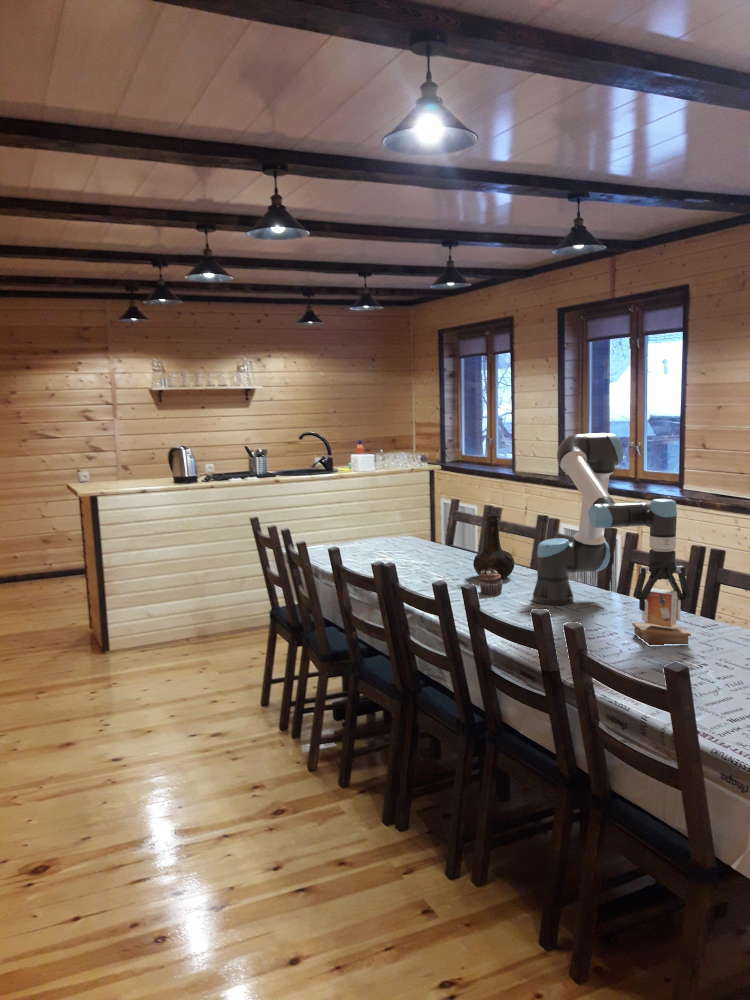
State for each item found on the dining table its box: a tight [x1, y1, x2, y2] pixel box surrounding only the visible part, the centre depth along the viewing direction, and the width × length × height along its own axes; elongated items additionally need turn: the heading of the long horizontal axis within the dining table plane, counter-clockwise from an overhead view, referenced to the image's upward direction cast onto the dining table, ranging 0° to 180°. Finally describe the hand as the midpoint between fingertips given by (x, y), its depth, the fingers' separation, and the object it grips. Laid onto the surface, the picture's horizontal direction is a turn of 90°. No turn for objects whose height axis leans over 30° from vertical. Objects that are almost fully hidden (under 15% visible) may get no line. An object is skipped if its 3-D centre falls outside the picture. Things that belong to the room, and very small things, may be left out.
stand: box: [631, 621, 692, 645], centre depth 230 cm, size 13×13×4 cm
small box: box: [644, 587, 678, 628], centre depth 229 cm, size 8×6×10 cm
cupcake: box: [478, 568, 504, 596], centre depth 295 cm, size 10×10×10 cm
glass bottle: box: [472, 513, 516, 580], centre depth 320 cm, size 18×18×28 cm
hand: (660, 620), depth 229 cm, fingers closed on small box, 9 cm apart
